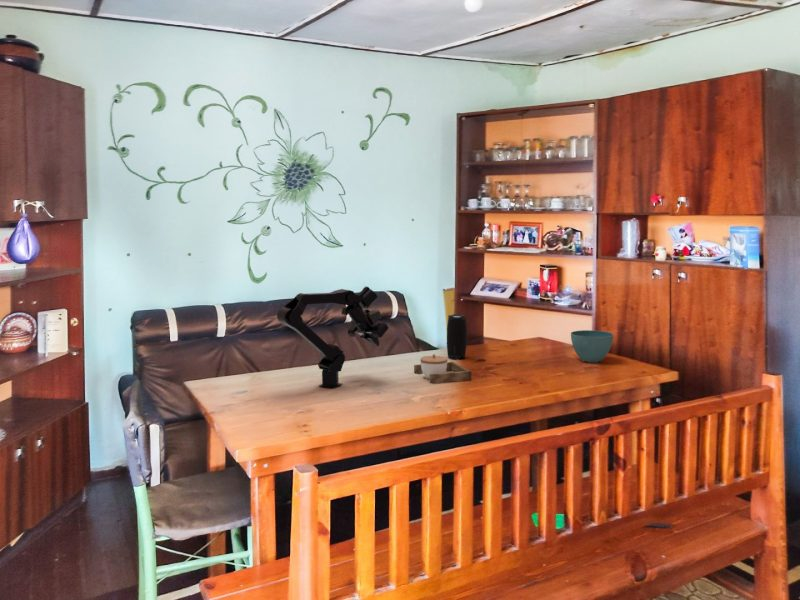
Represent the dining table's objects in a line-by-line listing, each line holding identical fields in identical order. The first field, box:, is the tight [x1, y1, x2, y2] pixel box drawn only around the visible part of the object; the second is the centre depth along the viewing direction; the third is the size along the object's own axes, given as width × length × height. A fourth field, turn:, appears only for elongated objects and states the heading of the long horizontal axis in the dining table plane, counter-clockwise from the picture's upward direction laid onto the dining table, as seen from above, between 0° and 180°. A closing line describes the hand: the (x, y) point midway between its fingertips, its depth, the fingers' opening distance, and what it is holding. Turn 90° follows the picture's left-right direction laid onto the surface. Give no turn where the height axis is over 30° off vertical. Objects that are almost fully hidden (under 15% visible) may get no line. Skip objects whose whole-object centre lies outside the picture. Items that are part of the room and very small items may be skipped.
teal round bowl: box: [570, 329, 614, 363], centre depth 317 cm, size 18×18×12 cm
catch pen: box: [413, 361, 472, 384], centre depth 288 cm, size 17×18×4 cm
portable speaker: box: [446, 313, 468, 361], centre depth 322 cm, size 9×9×20 cm
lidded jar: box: [420, 353, 448, 380], centre depth 286 cm, size 11×11×9 cm
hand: (378, 345), depth 284 cm, fingers closed
